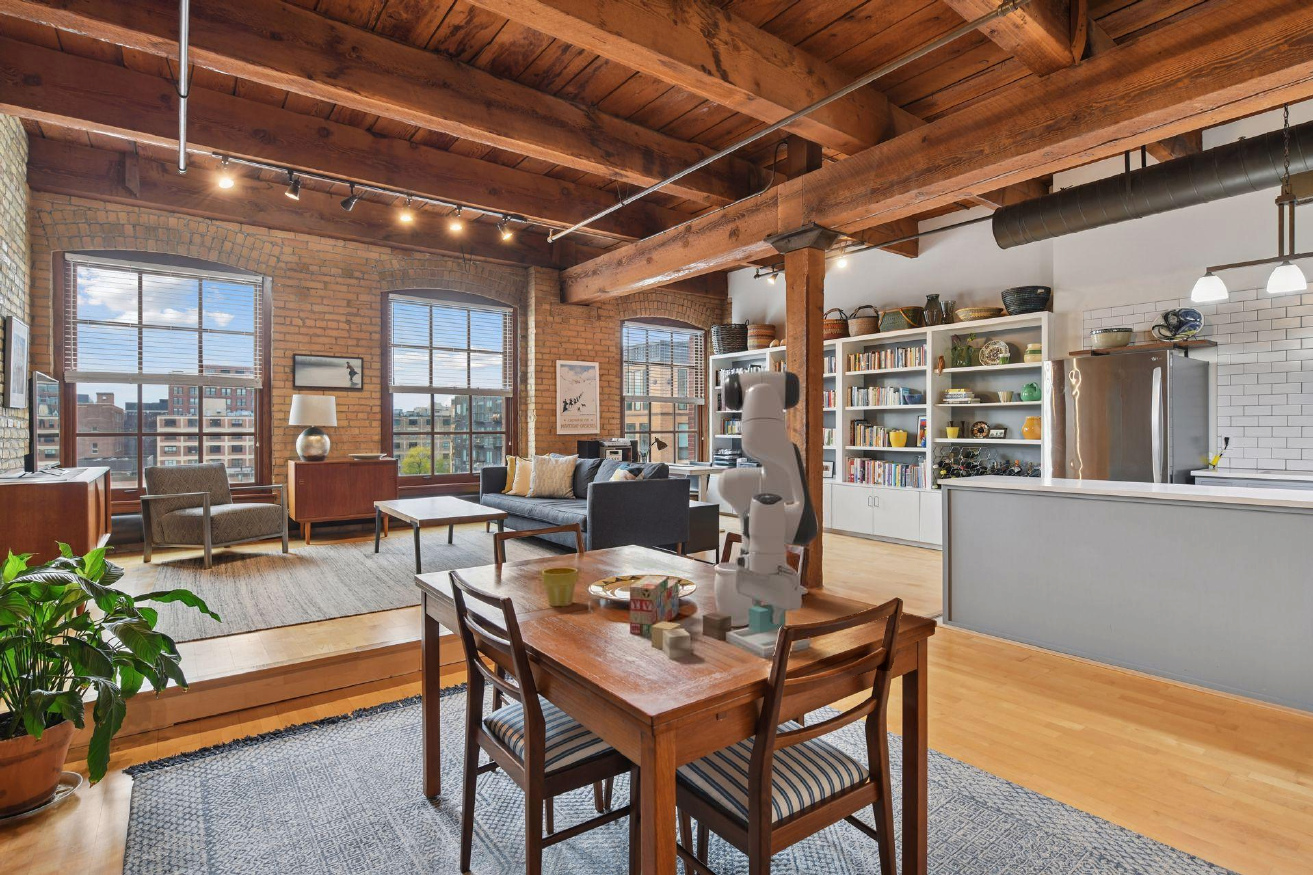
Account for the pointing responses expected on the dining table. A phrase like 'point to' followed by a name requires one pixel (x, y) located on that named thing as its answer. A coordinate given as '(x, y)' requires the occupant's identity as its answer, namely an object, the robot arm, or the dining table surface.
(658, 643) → the ochre cube
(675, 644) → the maple cube
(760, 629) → the teal brick
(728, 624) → the walnut cube
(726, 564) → the jar
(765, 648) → the tray
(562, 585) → the plant pot
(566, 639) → the dining table surface
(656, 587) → the stack of blocks
